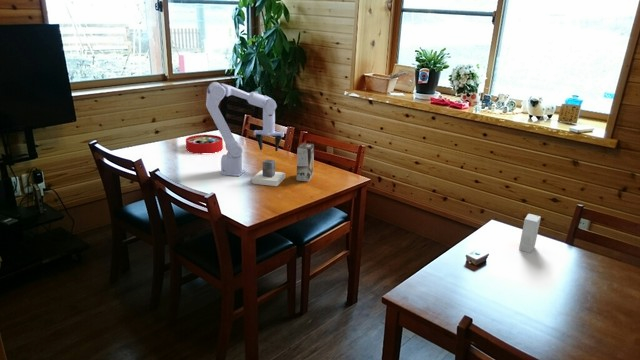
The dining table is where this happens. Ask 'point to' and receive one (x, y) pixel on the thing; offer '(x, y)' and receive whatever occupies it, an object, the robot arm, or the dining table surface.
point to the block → (268, 168)
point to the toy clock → (204, 144)
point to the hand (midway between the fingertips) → (268, 150)
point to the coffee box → (305, 162)
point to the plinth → (268, 179)
